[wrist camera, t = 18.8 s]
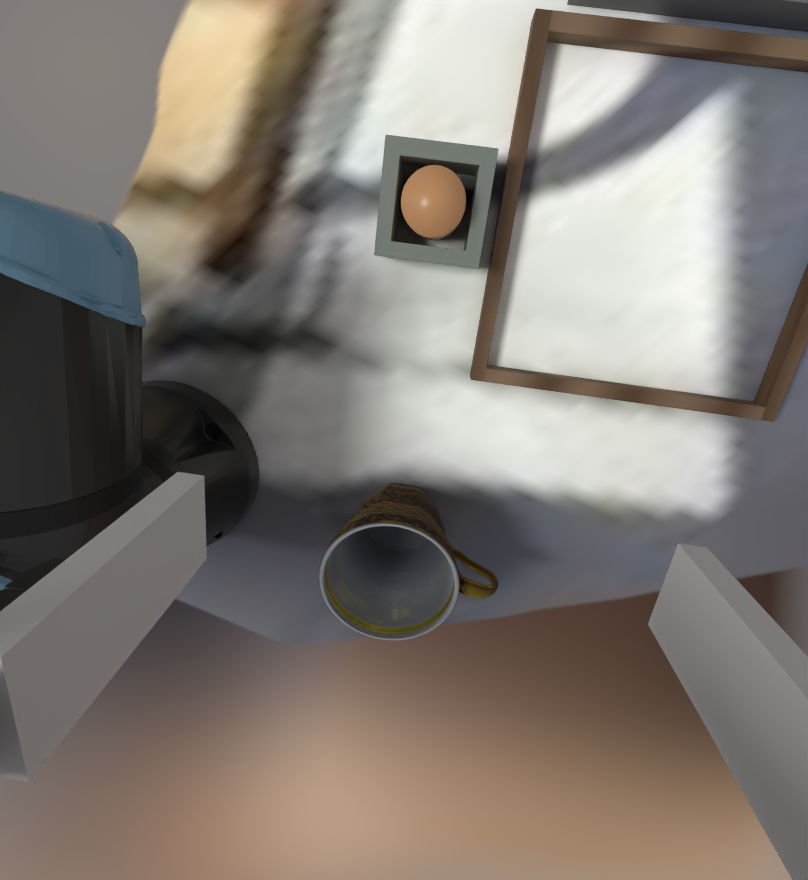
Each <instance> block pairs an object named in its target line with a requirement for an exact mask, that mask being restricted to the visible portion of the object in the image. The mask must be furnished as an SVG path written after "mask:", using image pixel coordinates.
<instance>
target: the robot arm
mask: <svg viewBox="0 0 808 880" xmlns="http://www.w3.org/2000/svg"><path fill="white" fill-rule="evenodd" d="M145 324H146V320H145V317H144V316H143V315H142V312H141V299H140V287H139V274H138V260H137V256H136V253H135V250H134V248H133V246H132V244H131V243H130V241H129V240H128V239H127V238H126V236H125V235H124V234H123V233H122V232H121V231H120V230H118V229H117V228H116V227H114V226H113V225H111V224H109V223H108V222H106V221H103V220H101V219H98V218H95V217H92V216H88V215H85V214H81V213H78V212H74V211H71V210H67V209H64V208H61V207H57V206H54V205H50V204H47V203H43V202H39V201H36V200H33V199H29V198H26V197H22V196H19V195H15V194H12V193H8V192H5V191H1V190H0V777H2V778H9V779H15V780H21V781H27V782H29V781H30V779H31V778H32V777H33V776H34V775H35V773H36V772H37V771H38V770H39V768H40V767H41V766H42V765H43V763H44V762H45V761H46V760H47V758H48V757H49V756H50V755H51V753H52V752H53V751H54V750H55V748H56V747H57V746H58V745H59V743H60V742H61V741H62V740H63V738H64V737H65V736H66V735H67V733H68V732H69V731H70V730H71V728H72V727H73V726H74V725H75V723H76V722H77V721H78V719H79V718H80V717H81V716H82V715H83V713H84V712H85V711H86V709H87V708H88V707H89V706H90V705H91V703H92V702H93V701H94V700H95V698H96V697H97V696H98V694H99V693H100V692H101V691H102V689H103V688H104V687H105V686H106V684H107V683H108V682H109V681H110V679H111V678H112V677H113V676H114V674H115V673H116V672H117V671H118V669H119V668H120V667H121V665H122V664H123V663H124V662H125V661H126V659H127V658H128V657H129V655H130V654H131V653H132V652H133V651H134V649H135V648H136V647H137V646H138V644H139V643H140V642H141V641H142V639H143V638H144V637H145V636H146V634H147V633H148V632H149V631H150V629H151V628H152V627H153V626H154V624H155V623H156V622H157V621H158V619H159V618H160V617H161V616H162V614H163V613H164V612H165V611H166V609H167V608H168V607H169V606H170V604H171V603H172V602H173V600H174V599H175V598H176V597H177V596H178V594H179V593H180V592H181V591H182V589H183V588H184V587H185V586H186V584H187V583H188V582H189V581H190V579H191V578H192V577H193V576H194V574H195V573H196V572H197V571H198V569H199V568H200V567H201V566H202V564H203V563H204V562H205V561H206V559H207V551H206V546H207V545H209V544H211V543H213V542H215V541H217V540H219V539H221V538H222V537H223V536H225V535H226V534H227V533H229V532H230V531H231V530H232V529H233V528H234V527H235V526H236V525H237V523H238V522H239V521H240V520H241V518H242V517H243V516H244V515H245V513H246V512H247V511H248V509H249V508H250V506H251V504H252V502H253V500H254V498H255V495H256V491H257V487H258V477H259V474H258V463H257V457H256V454H255V450H254V447H253V445H252V442H251V440H250V438H249V436H248V434H247V433H246V431H245V429H244V428H243V426H242V425H241V423H240V422H239V421H238V420H237V418H236V417H235V416H234V415H233V414H232V413H231V412H230V411H229V410H228V409H227V408H226V407H225V406H224V405H222V404H221V403H220V402H219V401H217V400H216V399H214V398H213V397H211V396H210V395H208V394H206V393H204V392H202V391H200V390H198V389H196V388H193V387H191V386H188V385H185V384H181V383H176V382H170V381H150V382H144V383H142V327H145ZM648 625H649V627H650V629H651V630H652V632H653V634H654V636H655V637H656V639H657V641H658V643H659V645H660V646H661V648H662V650H663V652H664V653H665V655H666V657H667V659H668V660H669V662H670V664H671V666H672V667H673V669H674V671H675V673H676V675H677V676H678V678H679V680H680V682H681V683H682V685H683V687H684V689H685V691H686V692H687V694H688V696H689V698H690V699H691V701H692V703H693V705H694V706H695V708H696V710H697V712H698V714H699V715H700V717H701V719H702V721H703V722H704V724H705V726H706V728H707V730H708V731H709V733H710V735H711V737H712V738H713V740H714V742H715V744H716V745H717V747H718V749H719V751H720V752H721V754H722V756H723V758H724V760H725V761H726V763H727V765H728V767H729V768H730V770H731V772H732V774H733V775H734V777H735V779H736V781H737V782H738V784H739V786H740V787H741V790H742V791H743V793H744V795H745V797H746V798H747V800H748V802H749V804H750V806H751V807H752V809H753V811H754V813H755V814H756V816H757V818H758V820H759V821H760V823H761V825H762V827H763V829H764V830H765V832H766V834H767V836H768V838H769V839H770V841H771V843H772V845H773V846H774V848H775V850H776V852H777V853H778V855H779V857H780V858H781V861H782V862H783V864H784V866H785V867H786V869H787V871H788V873H789V874H790V876H791V878H792V880H808V657H807V656H806V655H805V654H804V652H803V651H802V650H801V649H800V648H799V647H798V646H797V645H796V644H795V643H794V642H793V640H792V639H791V638H790V637H789V636H788V635H787V634H786V633H785V632H784V631H783V630H782V629H781V628H780V626H779V625H778V624H777V623H776V622H775V621H774V620H773V619H772V618H771V617H770V616H769V614H768V613H767V612H766V611H765V610H764V609H763V608H762V607H761V606H760V605H759V604H758V603H757V602H756V600H755V599H753V597H752V596H751V595H750V594H749V593H748V592H747V591H746V589H745V588H744V587H743V586H742V585H741V584H740V583H739V582H738V581H737V580H736V579H735V578H734V576H733V575H732V574H731V573H730V572H729V571H728V570H727V569H726V568H725V567H724V566H723V565H722V563H721V562H720V561H719V560H718V559H717V558H716V557H715V556H714V555H713V554H712V553H711V552H710V550H709V549H708V548H707V547H701V546H694V545H687V544H680V543H678V545H677V548H676V550H675V553H674V556H673V558H672V561H671V564H670V566H669V569H668V572H667V575H666V577H665V580H664V583H663V585H662V588H661V591H660V593H659V596H658V599H657V602H656V604H655V607H654V610H653V612H652V615H651V618H650V621H649V623H648Z"/></svg>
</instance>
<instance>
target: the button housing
mask: <svg viewBox="0 0 808 880" xmlns="http://www.w3.org/2000/svg"><path fill="white" fill-rule="evenodd" d="M497 155H498V149H497V148H489V147H481V146H473V145H465V144H457V143H449V142H441V141H432V140H424V139H416V138H408V137H400V136H392V135H386V137H385V147H384V158H383V168H382V179H381V189H380V200H379V211H378V221H377V232H376V242H375V253H374V255H377V256H384V257H392V258H399V259H407V260H415V261H422V262H430V263H437V264H445V265H453V266H460V267H468V268H475V269H479V263H480V257H481V251H482V245H483V239H484V233H485V227H486V221H487V215H488V209H489V203H490V197H491V191H492V185H493V179H494V173H495V167H496V161H497ZM429 165H439V166H443V167H446V168H448V169H450V170H451V171H453V172H454V173H457V174H465V175H473V176H476V177H475V183H474V189H473V196H472V202H471V209H470V215H469V222H468V228H467V235H466V241H465V247H464V251H463V250H455V249H448V248H440V247H432V246H425V245H417V244H409V243H402V242H397V233H398V224H399V215H400V206H401V196H402V187H403V178H404V169H405V167H409V168H417V169H421V168H423V167H425V166H429Z"/></svg>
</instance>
